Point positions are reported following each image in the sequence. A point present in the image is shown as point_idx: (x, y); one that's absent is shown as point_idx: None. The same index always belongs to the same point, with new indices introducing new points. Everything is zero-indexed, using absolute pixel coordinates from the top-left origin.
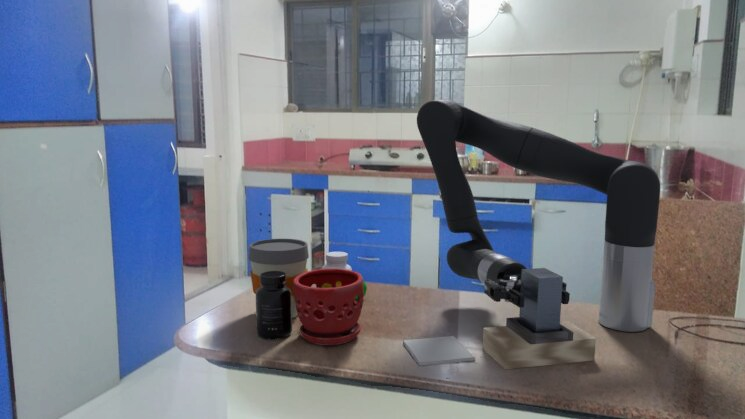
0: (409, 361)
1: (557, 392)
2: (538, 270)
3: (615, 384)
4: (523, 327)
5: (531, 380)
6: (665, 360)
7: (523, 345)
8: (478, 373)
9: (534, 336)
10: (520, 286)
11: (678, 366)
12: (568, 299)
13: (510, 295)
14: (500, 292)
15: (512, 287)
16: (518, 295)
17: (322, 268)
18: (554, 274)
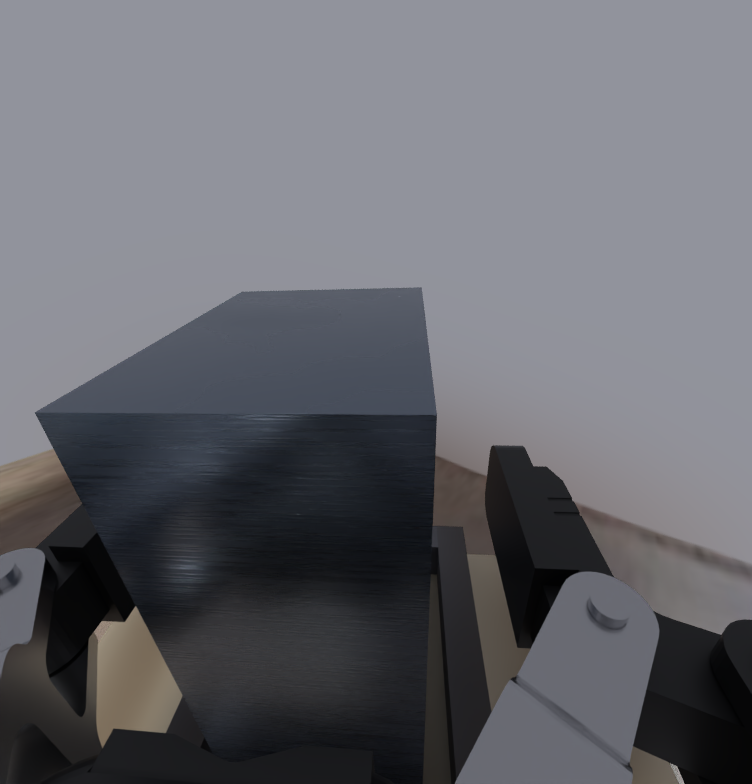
0: None
1: (444, 480)
2: (248, 364)
3: None
4: (453, 630)
5: (485, 536)
6: (11, 547)
7: (492, 557)
8: (671, 618)
9: (445, 529)
10: (369, 759)
11: (43, 513)
12: None
13: (585, 533)
14: (707, 636)
15: (548, 623)
16: (529, 464)
17: None
18: (241, 307)
